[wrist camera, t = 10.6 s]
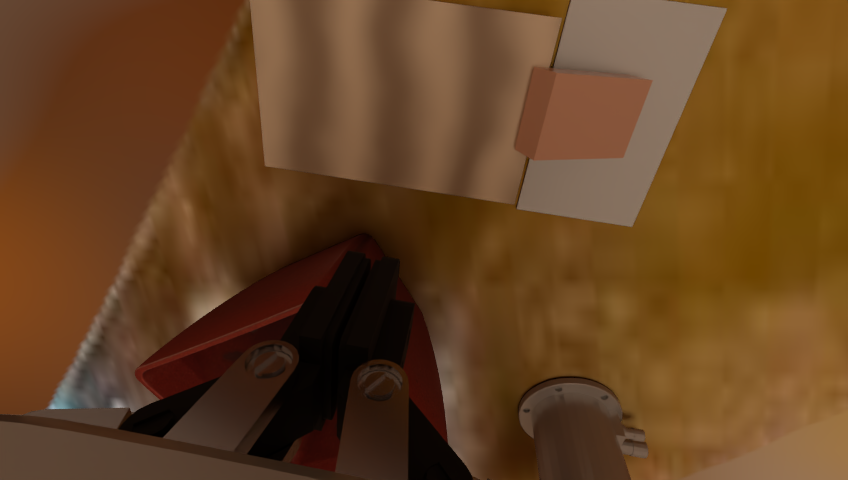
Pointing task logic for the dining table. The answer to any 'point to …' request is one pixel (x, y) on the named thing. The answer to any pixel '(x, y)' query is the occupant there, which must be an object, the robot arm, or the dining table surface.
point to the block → (580, 114)
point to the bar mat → (672, 84)
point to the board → (398, 91)
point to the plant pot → (268, 320)
